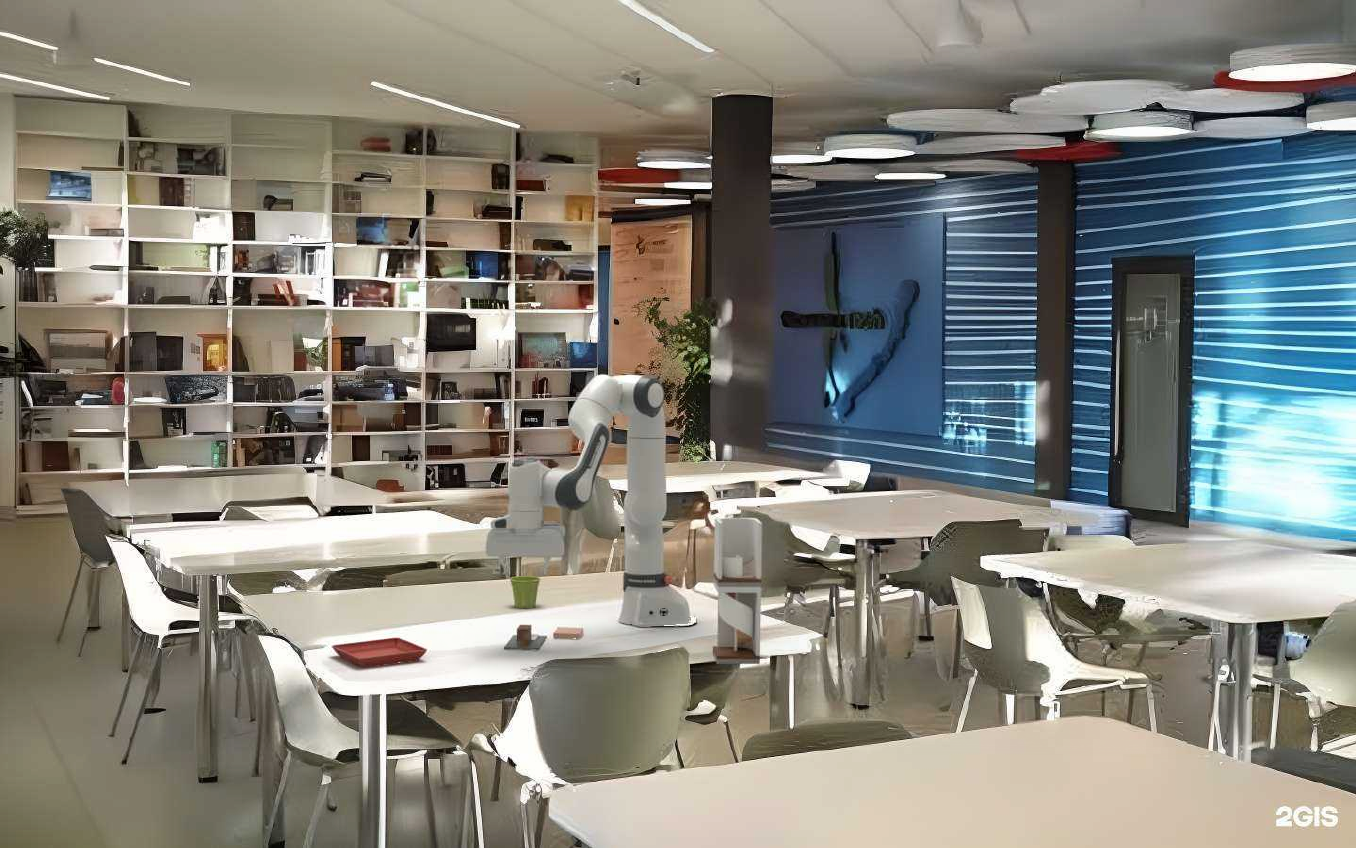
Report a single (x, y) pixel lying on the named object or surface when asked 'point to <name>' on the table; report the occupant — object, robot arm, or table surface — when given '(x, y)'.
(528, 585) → the plant pot
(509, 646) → the mat
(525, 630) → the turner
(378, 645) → the plant saucer
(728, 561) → the display case
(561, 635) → the tile
